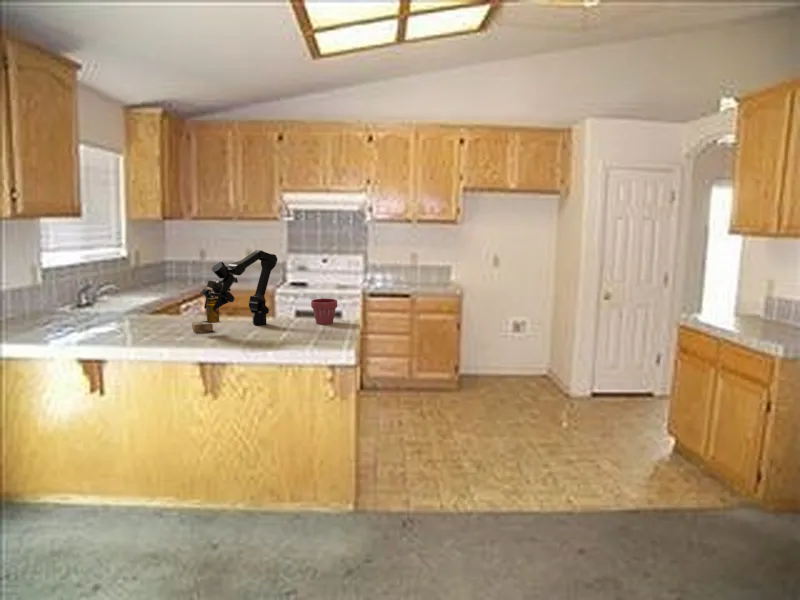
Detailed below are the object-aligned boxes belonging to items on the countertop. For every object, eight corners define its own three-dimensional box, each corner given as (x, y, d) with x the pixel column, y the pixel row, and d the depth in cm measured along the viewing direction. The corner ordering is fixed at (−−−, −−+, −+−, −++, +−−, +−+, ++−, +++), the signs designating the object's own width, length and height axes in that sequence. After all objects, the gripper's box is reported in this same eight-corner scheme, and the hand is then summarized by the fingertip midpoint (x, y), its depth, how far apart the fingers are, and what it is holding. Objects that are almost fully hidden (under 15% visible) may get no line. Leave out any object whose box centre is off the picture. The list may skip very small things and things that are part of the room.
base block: (210, 328, 341) (209, 320, 340) (212, 331, 333) (212, 323, 332) (192, 329, 337) (191, 321, 336) (194, 332, 329) (194, 325, 328)
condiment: (221, 322, 323) (220, 298, 321) (204, 323, 319) (203, 299, 317) (218, 320, 329) (217, 296, 328) (201, 321, 326) (200, 298, 324)
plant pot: (314, 326, 349) (313, 302, 347) (309, 321, 362) (308, 298, 360) (340, 324, 353) (340, 301, 352) (334, 320, 367) (334, 297, 365)
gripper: (203, 273, 329) (186, 297, 321) (229, 275, 319) (212, 300, 311) (216, 286, 336) (200, 310, 329) (241, 289, 326) (225, 314, 319)
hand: (209, 308), depth 322 cm, fingers closed on condiment, 6 cm apart
